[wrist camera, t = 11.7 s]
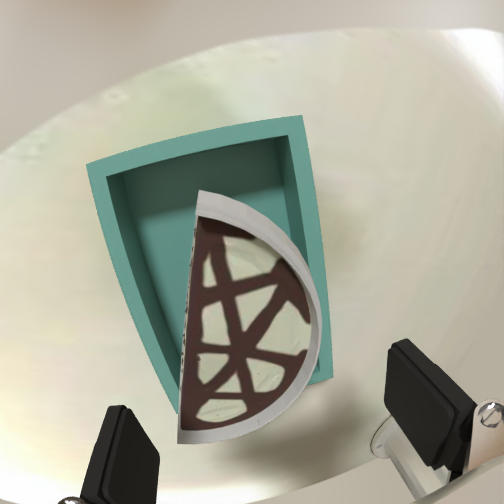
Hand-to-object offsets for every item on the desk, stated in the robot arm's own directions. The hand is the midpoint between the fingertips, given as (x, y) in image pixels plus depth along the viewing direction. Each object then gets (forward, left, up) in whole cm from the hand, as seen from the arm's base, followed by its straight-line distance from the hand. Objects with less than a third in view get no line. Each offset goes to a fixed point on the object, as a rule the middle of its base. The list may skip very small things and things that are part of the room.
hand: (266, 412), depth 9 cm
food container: (0, 0, -13) cm, 13 cm away
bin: (0, -1, -13) cm, 13 cm away
